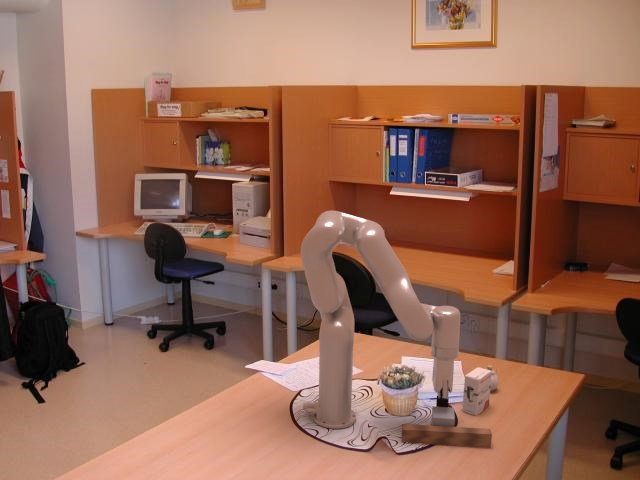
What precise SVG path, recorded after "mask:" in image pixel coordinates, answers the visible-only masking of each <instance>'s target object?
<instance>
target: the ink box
mask: <svg viewBox="0 0 640 480" xmlns="http://www.w3.org/2000/svg"><path fill="white" fill-rule="evenodd" d="M491 374H492V371H490V370H487V368H482V367H476V368H474V369H473V370H472V371H469V372H468V373H467V374H465V375H464V384H463V385H464V387H463V397H462V399H463V400H462V410H461V411H462V412H463V413H466V414H470V415H472V416H475V417H477V416H478V415H479V414H480V413H482V412H483V411H484V410H486V409H487V408H488V407H489V406H490V396H491V391H490V386H491Z"/></svg>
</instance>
